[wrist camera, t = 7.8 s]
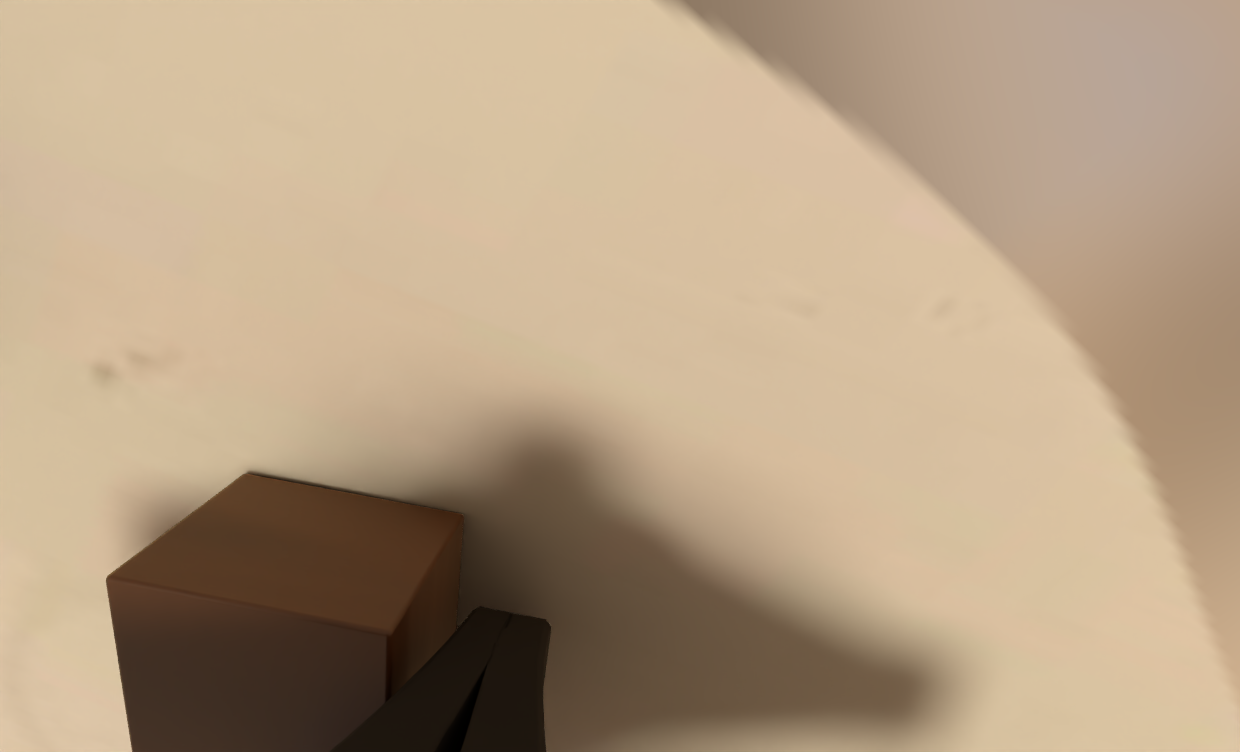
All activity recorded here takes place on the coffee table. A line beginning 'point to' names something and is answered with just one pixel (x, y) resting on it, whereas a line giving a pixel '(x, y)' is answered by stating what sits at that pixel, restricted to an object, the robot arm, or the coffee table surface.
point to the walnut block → (280, 616)
